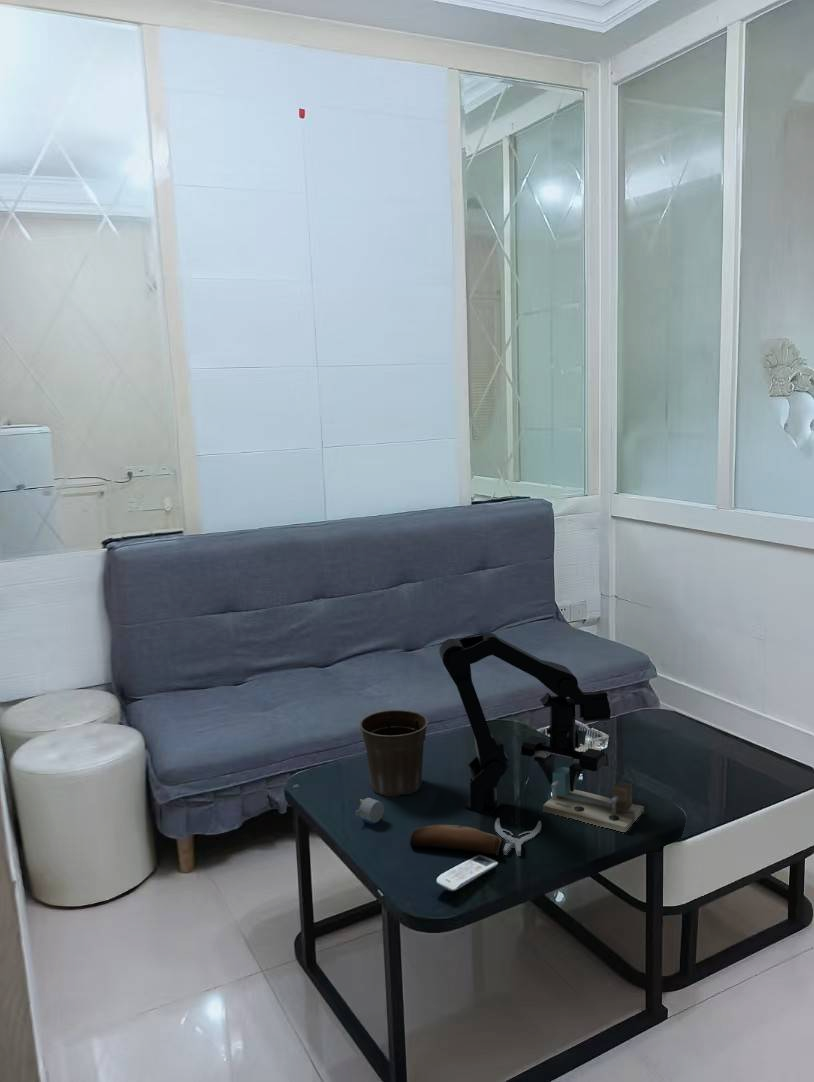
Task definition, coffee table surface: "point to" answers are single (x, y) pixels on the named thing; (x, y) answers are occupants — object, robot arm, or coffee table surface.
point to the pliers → (515, 842)
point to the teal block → (560, 782)
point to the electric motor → (370, 810)
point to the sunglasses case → (456, 838)
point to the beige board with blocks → (598, 807)
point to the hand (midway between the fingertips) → (562, 788)
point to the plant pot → (394, 750)
